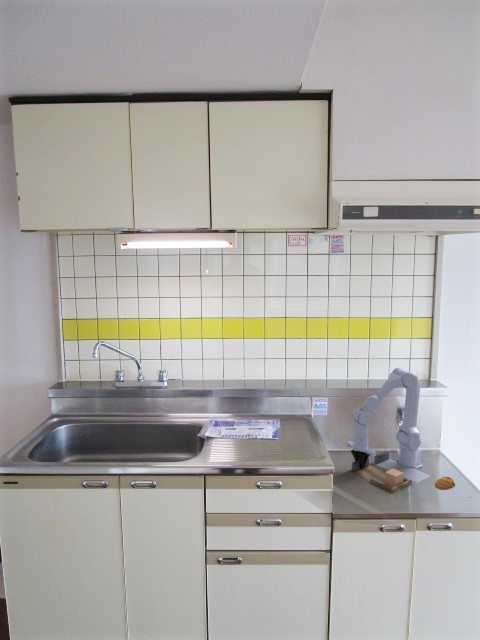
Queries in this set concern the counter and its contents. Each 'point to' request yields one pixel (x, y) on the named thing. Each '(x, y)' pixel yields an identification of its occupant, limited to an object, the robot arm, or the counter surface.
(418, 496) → the counter surface
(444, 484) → the pastry
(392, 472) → the terracotta block
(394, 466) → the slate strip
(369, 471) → the wooden tray
